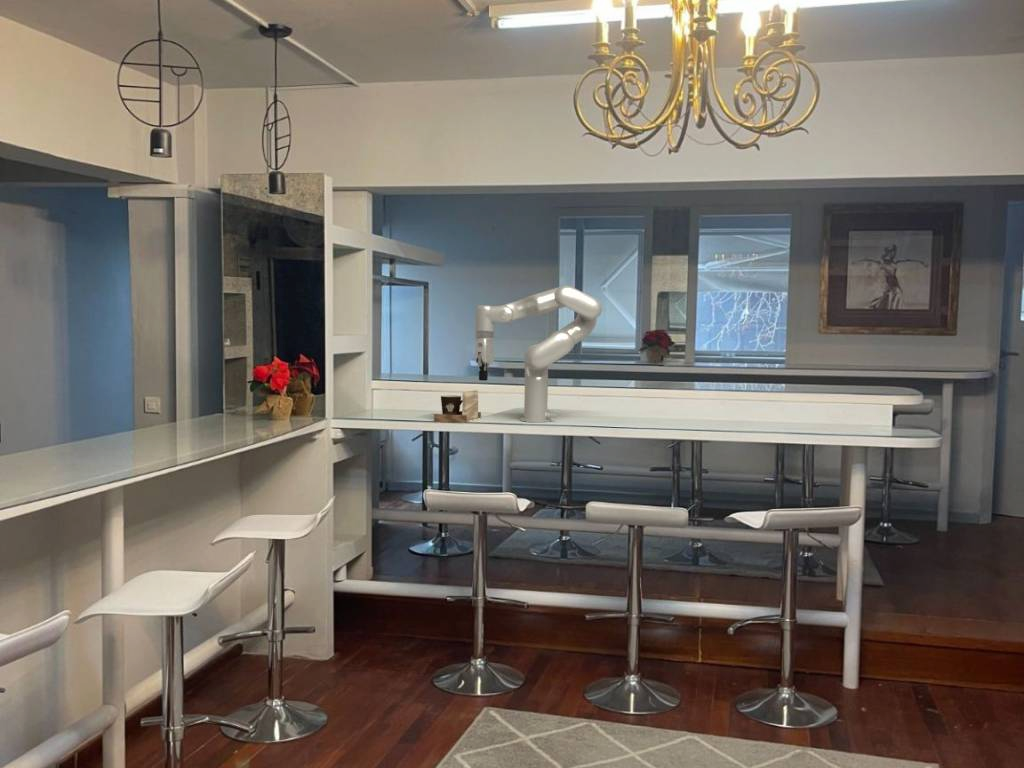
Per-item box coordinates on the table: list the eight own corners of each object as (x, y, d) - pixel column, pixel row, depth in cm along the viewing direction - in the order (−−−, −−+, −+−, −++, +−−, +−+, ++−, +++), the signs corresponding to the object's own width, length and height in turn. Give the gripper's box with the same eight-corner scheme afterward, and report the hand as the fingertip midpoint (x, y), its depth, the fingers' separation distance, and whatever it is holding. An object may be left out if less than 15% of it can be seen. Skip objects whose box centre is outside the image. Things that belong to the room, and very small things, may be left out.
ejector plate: (477, 419, 401) (478, 390, 401) (465, 422, 388) (466, 392, 388) (474, 418, 402) (474, 390, 401) (462, 421, 389) (462, 392, 388)
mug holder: (480, 419, 403) (480, 412, 403) (466, 423, 387) (466, 415, 387) (450, 417, 407) (450, 410, 407) (434, 421, 391) (434, 414, 391)
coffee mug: (436, 420, 396) (436, 396, 396) (447, 418, 404) (447, 394, 403) (460, 421, 391) (461, 397, 390) (471, 420, 399) (471, 396, 398)
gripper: (486, 335, 383) (485, 381, 384) (499, 335, 397) (497, 380, 398) (469, 335, 385) (467, 380, 386) (482, 335, 399) (481, 379, 400)
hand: (483, 380), depth 392 cm, fingers closed
